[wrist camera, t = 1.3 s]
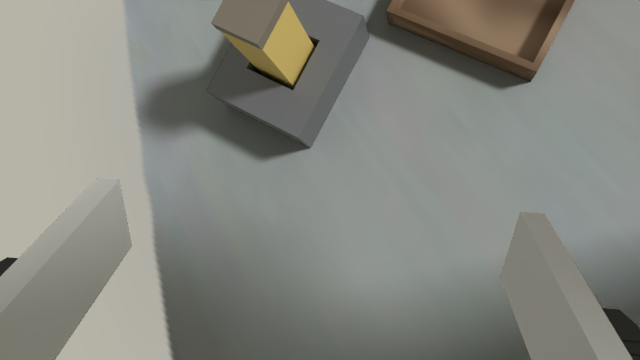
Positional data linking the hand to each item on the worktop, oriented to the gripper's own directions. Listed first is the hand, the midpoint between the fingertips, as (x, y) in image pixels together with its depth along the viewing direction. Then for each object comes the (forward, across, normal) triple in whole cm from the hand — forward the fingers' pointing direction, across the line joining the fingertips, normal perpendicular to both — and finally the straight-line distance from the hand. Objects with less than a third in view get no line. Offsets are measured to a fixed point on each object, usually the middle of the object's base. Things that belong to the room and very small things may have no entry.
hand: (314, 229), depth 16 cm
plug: (+32, -4, -4) cm, 32 cm away
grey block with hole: (+33, -4, -5) cm, 33 cm away
